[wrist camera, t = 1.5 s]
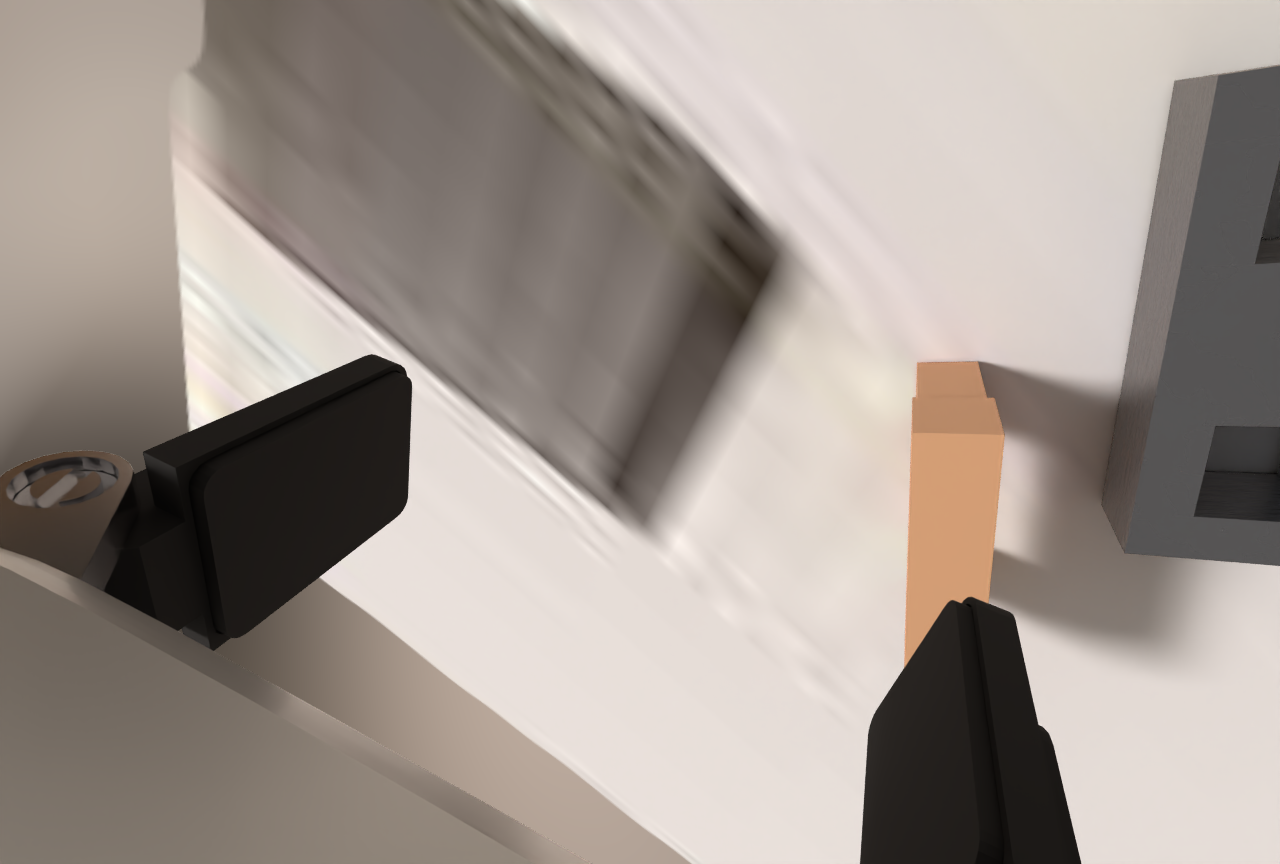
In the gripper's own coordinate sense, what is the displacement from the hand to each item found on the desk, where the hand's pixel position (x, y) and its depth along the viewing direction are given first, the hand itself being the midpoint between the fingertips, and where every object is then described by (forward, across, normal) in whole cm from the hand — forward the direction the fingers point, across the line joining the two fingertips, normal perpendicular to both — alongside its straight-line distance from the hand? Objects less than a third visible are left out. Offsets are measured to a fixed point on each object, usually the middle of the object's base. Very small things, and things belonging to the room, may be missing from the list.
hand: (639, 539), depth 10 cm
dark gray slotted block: (+24, -17, -3) cm, 29 cm away
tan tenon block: (+24, -10, +8) cm, 27 cm away
